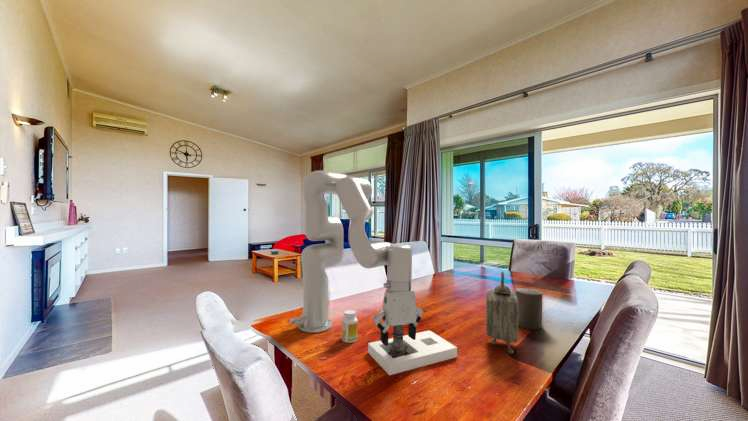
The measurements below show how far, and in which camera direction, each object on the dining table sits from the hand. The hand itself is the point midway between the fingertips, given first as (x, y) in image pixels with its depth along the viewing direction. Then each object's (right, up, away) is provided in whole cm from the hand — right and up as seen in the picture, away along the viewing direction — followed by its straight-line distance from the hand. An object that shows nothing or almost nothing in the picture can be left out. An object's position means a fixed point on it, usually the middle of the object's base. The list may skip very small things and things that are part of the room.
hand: (398, 340), depth 90 cm
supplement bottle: (-16, -5, +12) cm, 21 cm away
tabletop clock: (+35, -6, +9) cm, 37 cm away
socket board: (+4, -5, +2) cm, 7 cm away
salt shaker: (0, -6, 0) cm, 6 cm away
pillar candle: (+54, -6, +28) cm, 61 cm away
